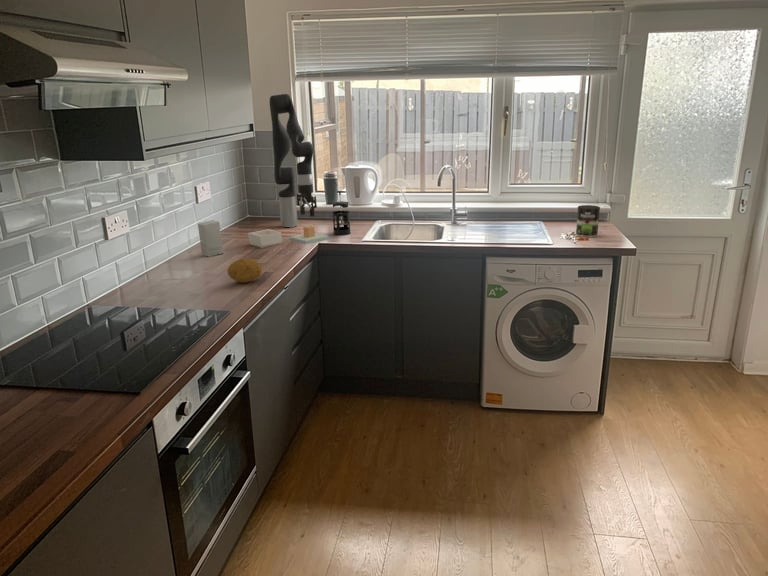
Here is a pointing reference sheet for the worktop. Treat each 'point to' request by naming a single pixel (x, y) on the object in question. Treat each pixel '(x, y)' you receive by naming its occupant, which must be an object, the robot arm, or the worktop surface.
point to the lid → (309, 235)
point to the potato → (244, 270)
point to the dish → (265, 238)
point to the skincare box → (210, 238)
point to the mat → (309, 242)
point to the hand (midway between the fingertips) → (307, 215)
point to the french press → (346, 219)
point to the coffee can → (587, 221)
